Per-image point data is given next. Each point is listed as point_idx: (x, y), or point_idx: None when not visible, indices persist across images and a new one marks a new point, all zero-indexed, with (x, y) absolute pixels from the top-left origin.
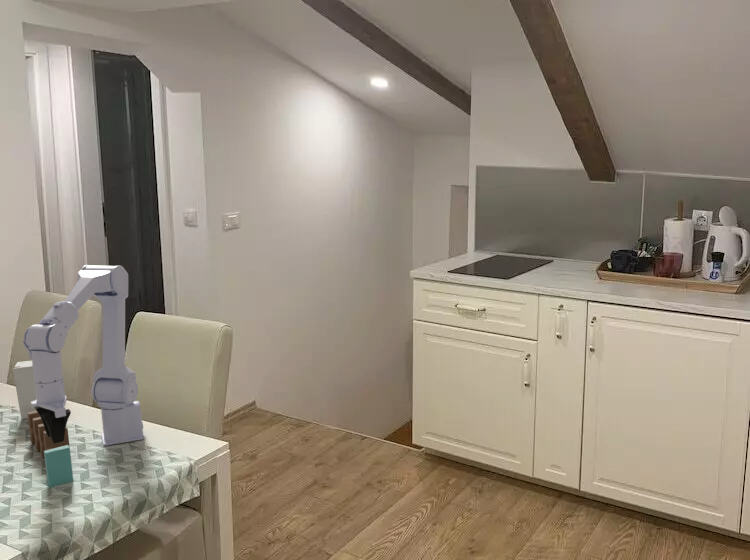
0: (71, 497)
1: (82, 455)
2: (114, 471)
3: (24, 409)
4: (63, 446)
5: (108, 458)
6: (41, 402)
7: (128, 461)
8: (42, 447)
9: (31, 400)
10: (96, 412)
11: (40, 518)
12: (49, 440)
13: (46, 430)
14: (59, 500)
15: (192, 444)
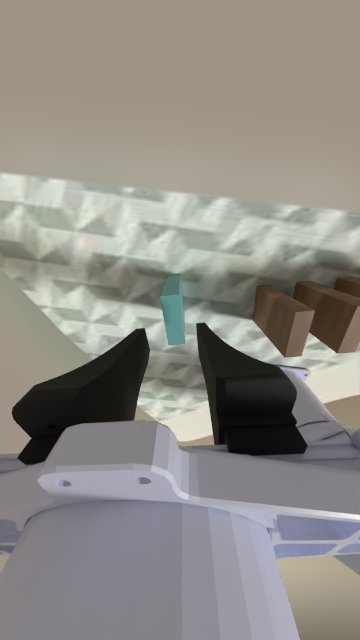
0: (115, 300)
1: (257, 336)
2: (173, 359)
3: None
4: (180, 335)
5: None
6: (30, 530)
7: (193, 376)
8: (312, 290)
9: None
10: None
11: (55, 245)
12: (281, 311)
13: (198, 332)
14: (112, 282)
15: (196, 427)
